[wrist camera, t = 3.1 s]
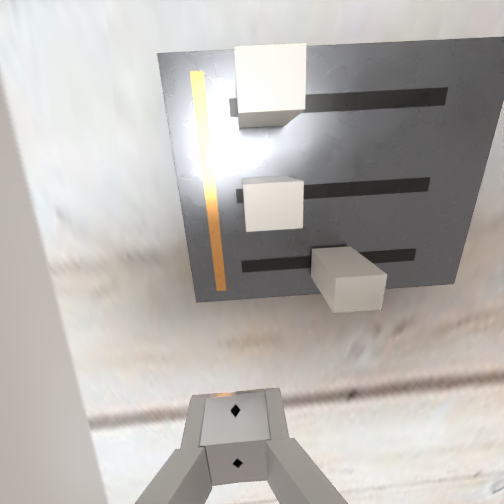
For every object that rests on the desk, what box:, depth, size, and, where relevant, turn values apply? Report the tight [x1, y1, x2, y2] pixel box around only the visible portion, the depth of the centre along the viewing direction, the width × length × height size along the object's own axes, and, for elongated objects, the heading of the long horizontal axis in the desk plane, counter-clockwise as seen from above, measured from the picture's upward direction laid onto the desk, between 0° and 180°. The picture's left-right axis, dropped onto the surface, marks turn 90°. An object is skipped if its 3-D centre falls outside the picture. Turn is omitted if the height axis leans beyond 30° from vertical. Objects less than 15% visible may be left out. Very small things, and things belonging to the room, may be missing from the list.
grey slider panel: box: [157, 37, 504, 303], centre depth 18 cm, size 22×17×2 cm
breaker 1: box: [234, 43, 306, 128], centre depth 13 cm, size 3×2×5 cm
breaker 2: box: [242, 176, 304, 232], centre depth 15 cm, size 3×2×5 cm
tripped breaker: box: [311, 246, 387, 313], centre depth 17 cm, size 3×2×5 cm
